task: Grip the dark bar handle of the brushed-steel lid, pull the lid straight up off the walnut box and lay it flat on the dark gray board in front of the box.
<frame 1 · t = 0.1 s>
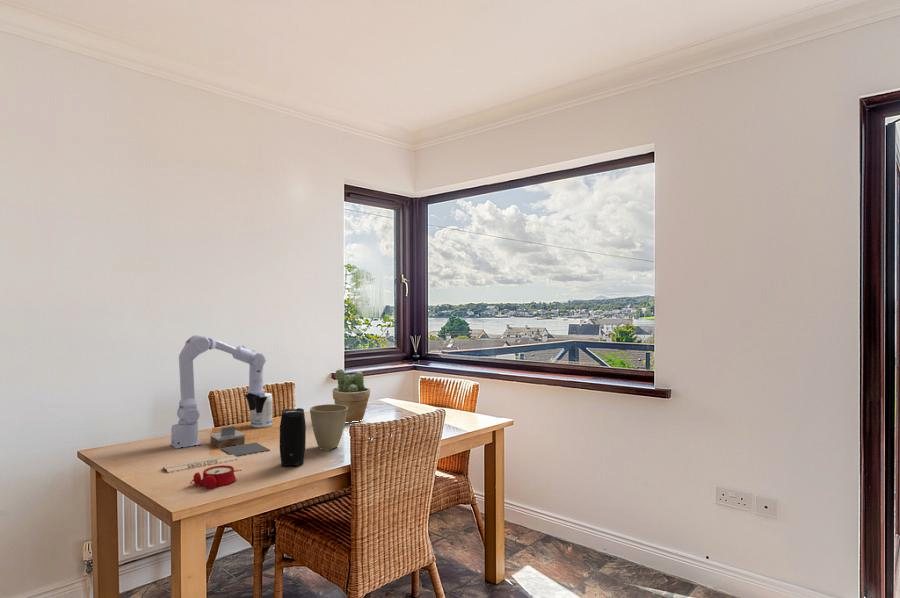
hand: (255, 411, 237), 10 cm above the table, tool pointing down, fingers open, 7 cm apart
portable speaker: (292, 464, 194), on the table
plant pot: (328, 447, 217), on the table
dark gray board: (245, 449, 212), on the table
potted plant: (351, 421, 265), on the table
lid: (227, 438, 221), point 2 cm above the table, touching walnut box
walnut box: (227, 443, 221), on the table
newspaper: (201, 467, 193), on the table
alarm clock: (214, 484, 174), on the table
supplement tub: (261, 426, 253), on the table
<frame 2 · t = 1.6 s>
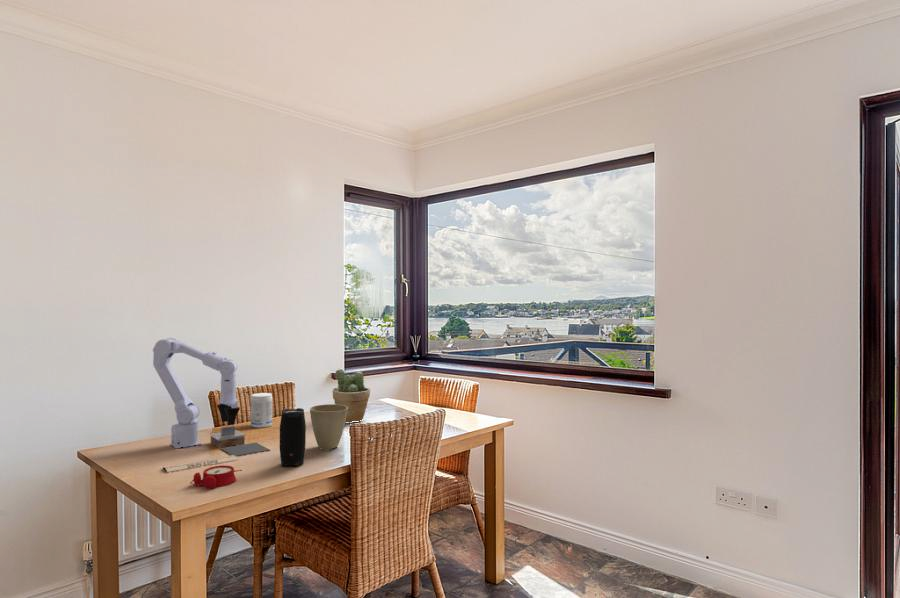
hand: (228, 423, 222), 8 cm above the table, tool pointing down, fingers open, 7 cm apart
nothing on the table moved.
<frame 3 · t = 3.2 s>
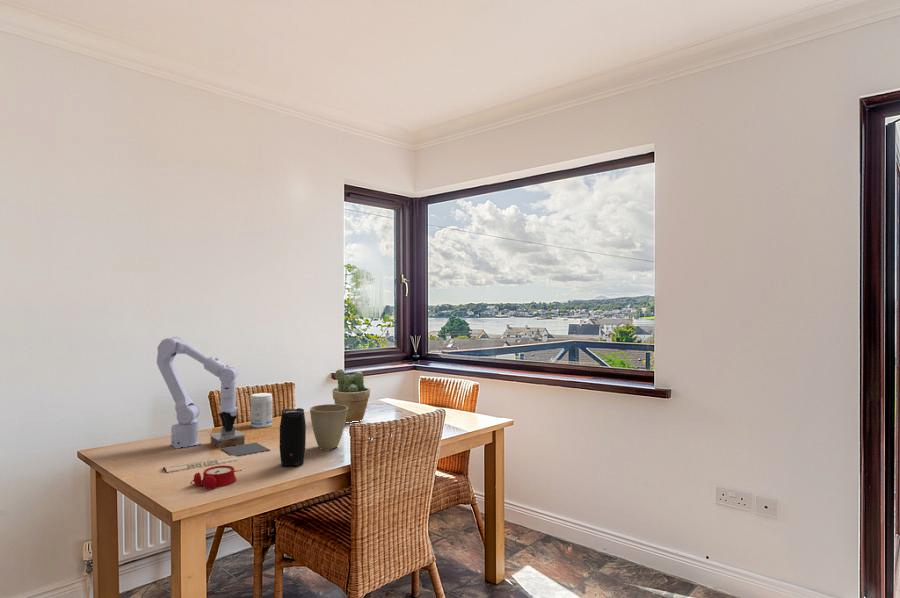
hand: (227, 430, 221), 5 cm above the table, tool pointing down, fingers closed on lid
lid: (227, 438, 221), point 2 cm above the table, touching gripper, walnut box
everything else where it was.
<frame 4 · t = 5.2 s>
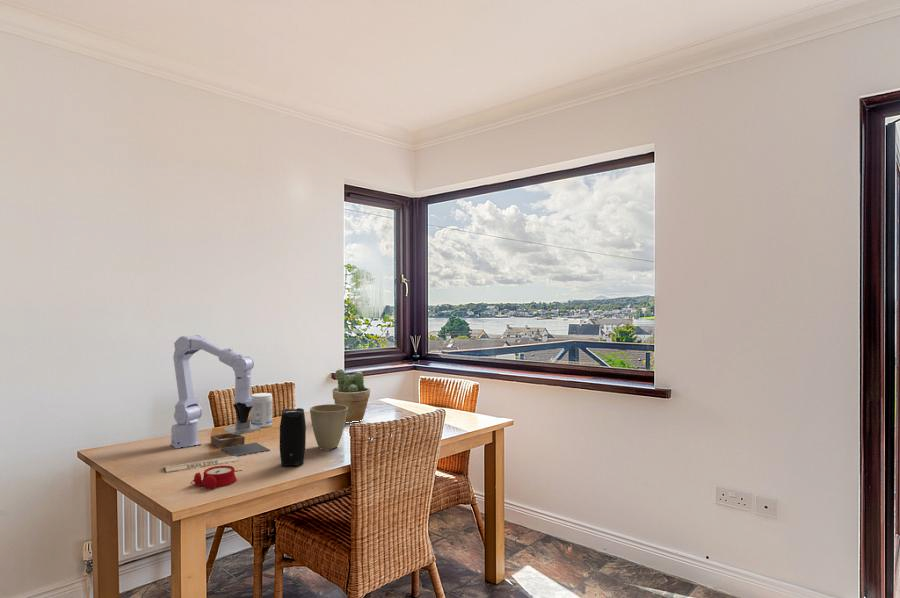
hand: (242, 422, 214), 10 cm above the table, tool pointing down, fingers closed on lid
lid: (242, 431, 214), point 7 cm above the table, touching gripper
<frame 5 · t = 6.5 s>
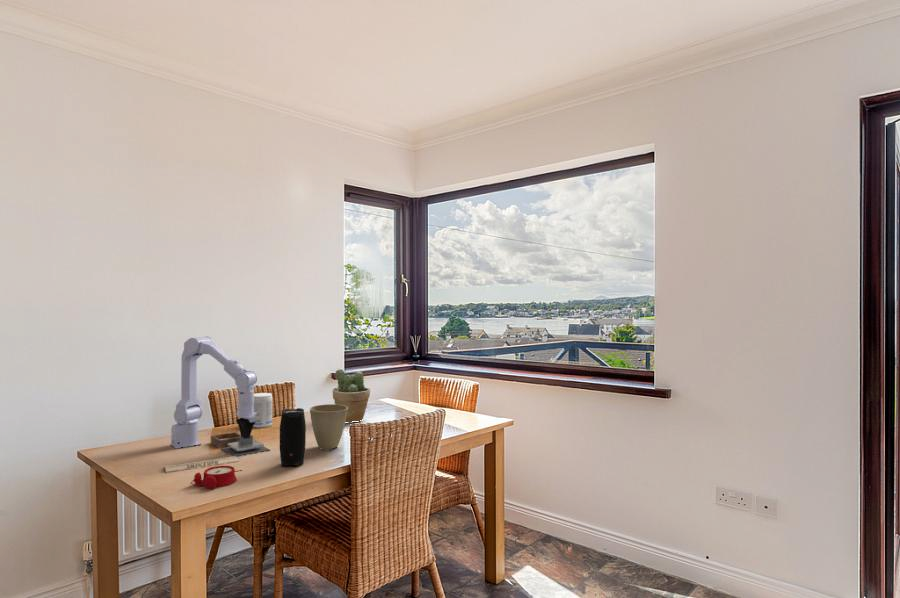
hand: (245, 437, 212), 5 cm above the table, tool pointing down, fingers closed on lid
lid: (245, 447, 212), point 1 cm above the table, touching gripper
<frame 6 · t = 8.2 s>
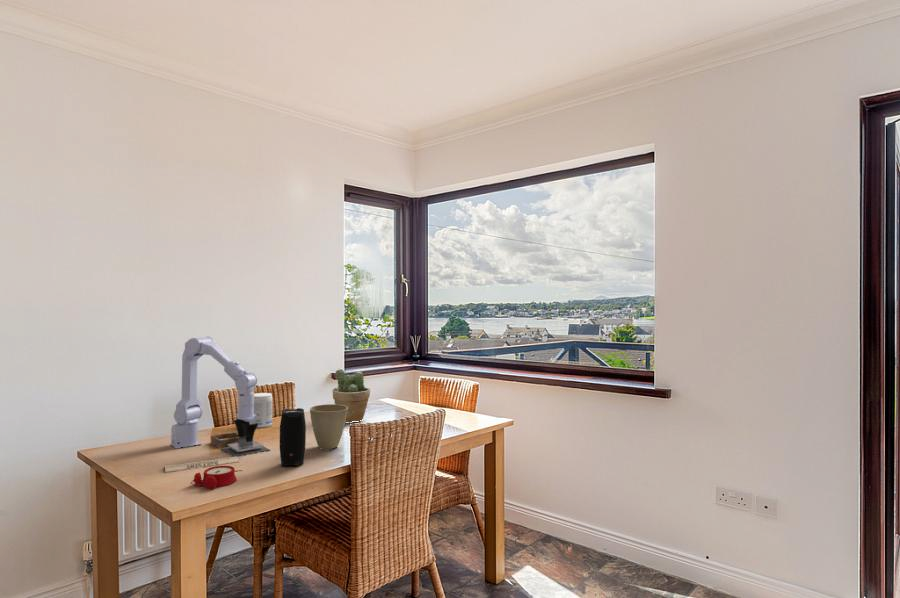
hand: (245, 439, 212), 4 cm above the table, tool pointing down, fingers open, 7 cm apart
lid: (245, 448, 212), resting on dark gray board
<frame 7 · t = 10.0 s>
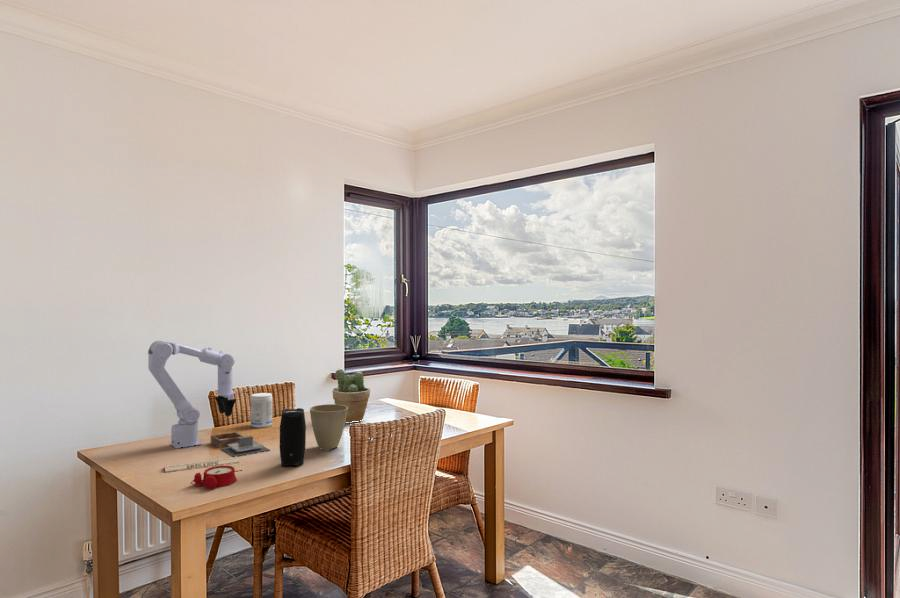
hand: (225, 414, 229), 10 cm above the table, tool pointing down, fingers open, 7 cm apart
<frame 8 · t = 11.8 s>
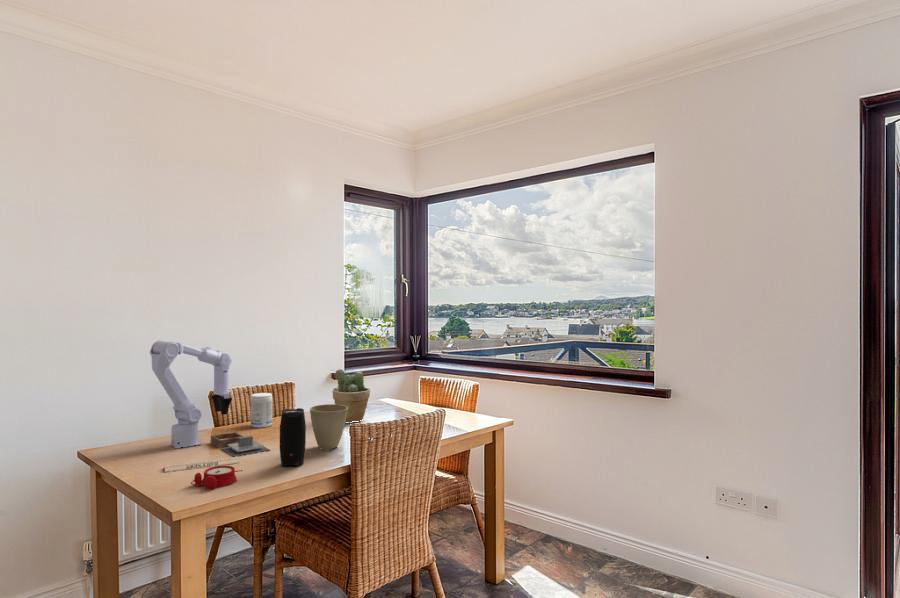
hand: (221, 412, 232), 10 cm above the table, tool pointing down, fingers open, 7 cm apart
at the end: lid inside the target area on the dark gray board (0.0 cm from its centre), point 0.4 cm above the dark gray board's base; lid tilted 0°; the gripper is holding nothing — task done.
